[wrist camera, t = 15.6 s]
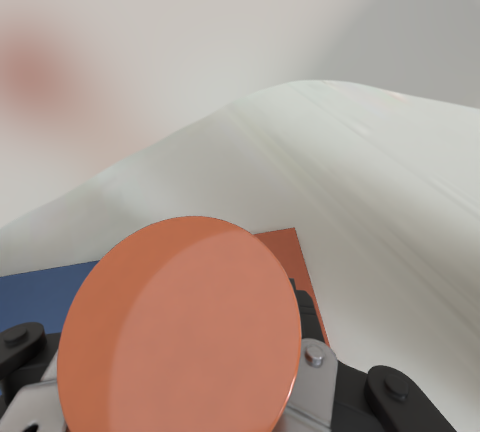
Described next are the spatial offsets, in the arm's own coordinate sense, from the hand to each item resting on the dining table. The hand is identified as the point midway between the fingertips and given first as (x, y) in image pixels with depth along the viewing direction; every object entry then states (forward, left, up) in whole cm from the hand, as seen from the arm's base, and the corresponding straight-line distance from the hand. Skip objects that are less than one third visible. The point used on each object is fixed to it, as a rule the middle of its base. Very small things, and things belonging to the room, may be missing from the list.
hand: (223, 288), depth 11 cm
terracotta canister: (0, +2, -5) cm, 5 cm away
